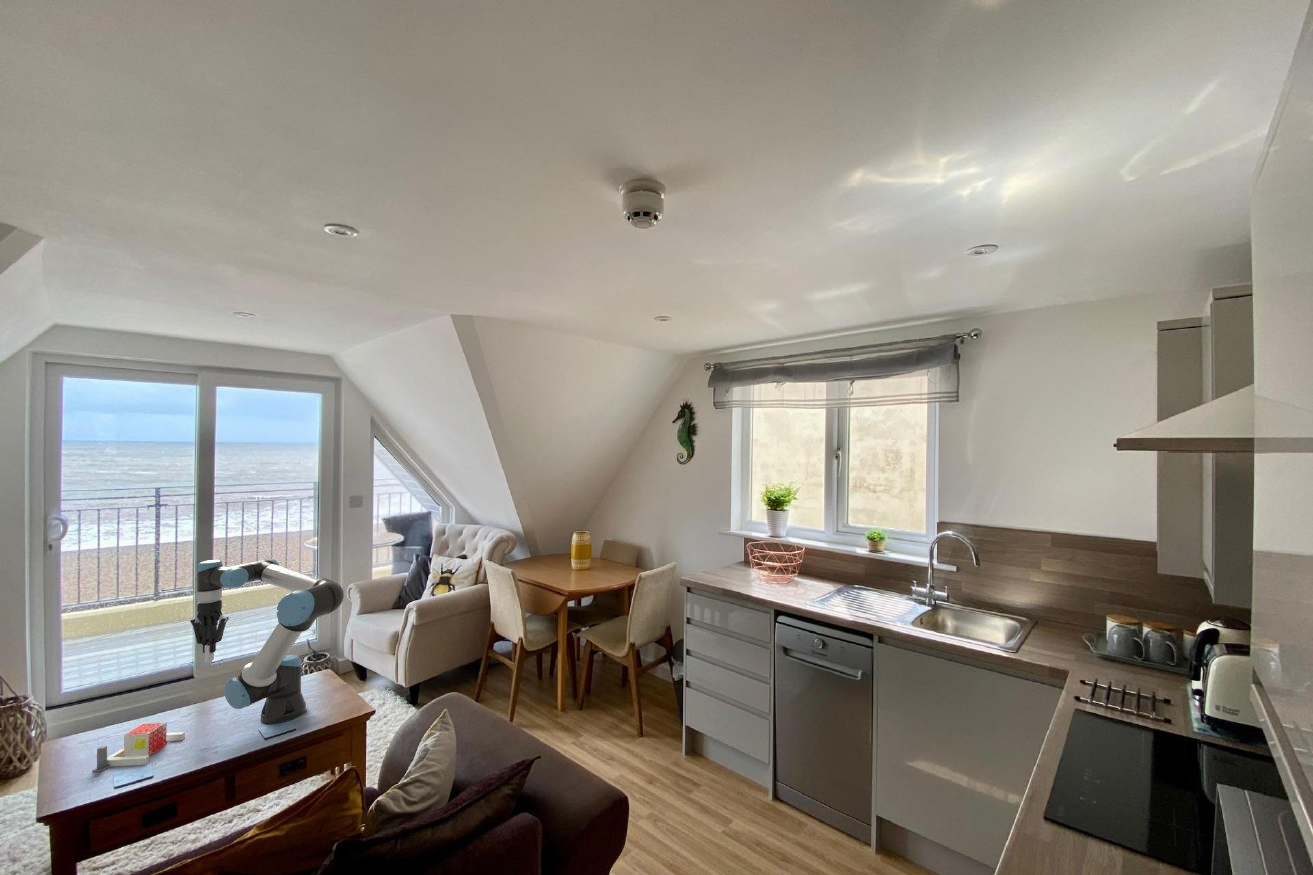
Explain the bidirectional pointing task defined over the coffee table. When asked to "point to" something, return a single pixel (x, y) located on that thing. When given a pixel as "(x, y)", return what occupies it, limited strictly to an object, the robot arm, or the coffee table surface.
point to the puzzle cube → (145, 739)
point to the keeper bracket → (120, 760)
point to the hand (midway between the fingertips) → (209, 660)
